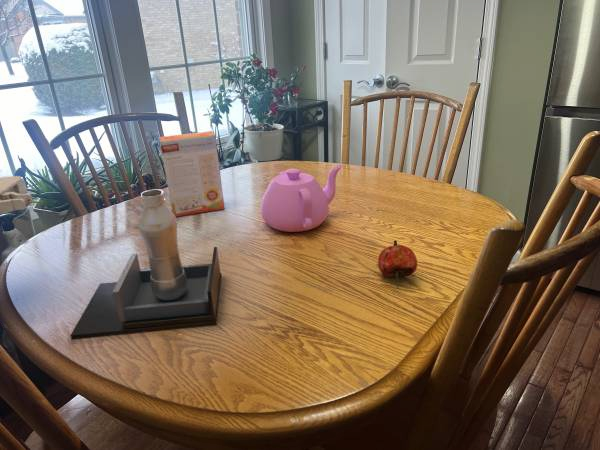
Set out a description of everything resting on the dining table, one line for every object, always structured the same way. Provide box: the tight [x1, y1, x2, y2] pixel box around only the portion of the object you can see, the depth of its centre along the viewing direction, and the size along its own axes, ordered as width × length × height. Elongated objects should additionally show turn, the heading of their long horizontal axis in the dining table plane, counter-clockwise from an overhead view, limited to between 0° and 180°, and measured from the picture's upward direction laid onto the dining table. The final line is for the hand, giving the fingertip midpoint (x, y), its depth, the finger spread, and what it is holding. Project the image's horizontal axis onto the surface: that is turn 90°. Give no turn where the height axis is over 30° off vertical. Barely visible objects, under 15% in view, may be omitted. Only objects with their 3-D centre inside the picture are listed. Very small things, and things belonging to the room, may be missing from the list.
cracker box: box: [159, 130, 225, 218], centre depth 117 cm, size 14×6×21 cm, turn 108°
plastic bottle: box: [137, 188, 188, 301], centre depth 76 cm, size 6×7×20 cm
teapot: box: [260, 164, 344, 233], centre depth 109 cm, size 22×22×14 cm
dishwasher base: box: [70, 246, 222, 340], centre depth 79 cm, size 24×16×7 cm
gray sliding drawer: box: [112, 253, 212, 322], centre depth 79 cm, size 15×13×7 cm
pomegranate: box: [377, 239, 418, 290], centre depth 84 cm, size 7×7×10 cm
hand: (28, 201), depth 74 cm, fingers closed
